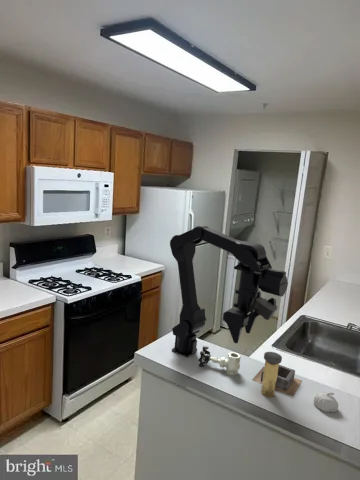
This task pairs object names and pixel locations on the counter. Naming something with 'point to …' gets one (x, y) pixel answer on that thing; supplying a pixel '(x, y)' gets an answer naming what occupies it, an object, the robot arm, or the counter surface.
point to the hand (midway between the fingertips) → (242, 337)
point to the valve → (221, 361)
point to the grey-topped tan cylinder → (270, 373)
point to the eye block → (282, 380)
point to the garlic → (326, 402)
